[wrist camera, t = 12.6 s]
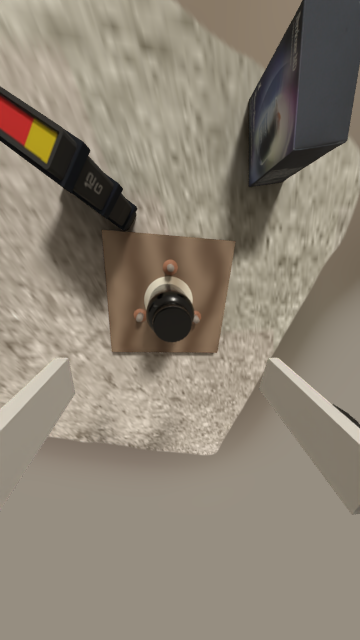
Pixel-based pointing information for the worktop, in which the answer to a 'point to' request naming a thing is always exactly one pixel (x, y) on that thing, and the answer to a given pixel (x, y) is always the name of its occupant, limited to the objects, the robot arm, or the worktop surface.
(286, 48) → the small box
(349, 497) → the robot arm
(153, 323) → the supplement bottle
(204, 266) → the board
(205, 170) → the worktop surface
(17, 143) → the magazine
